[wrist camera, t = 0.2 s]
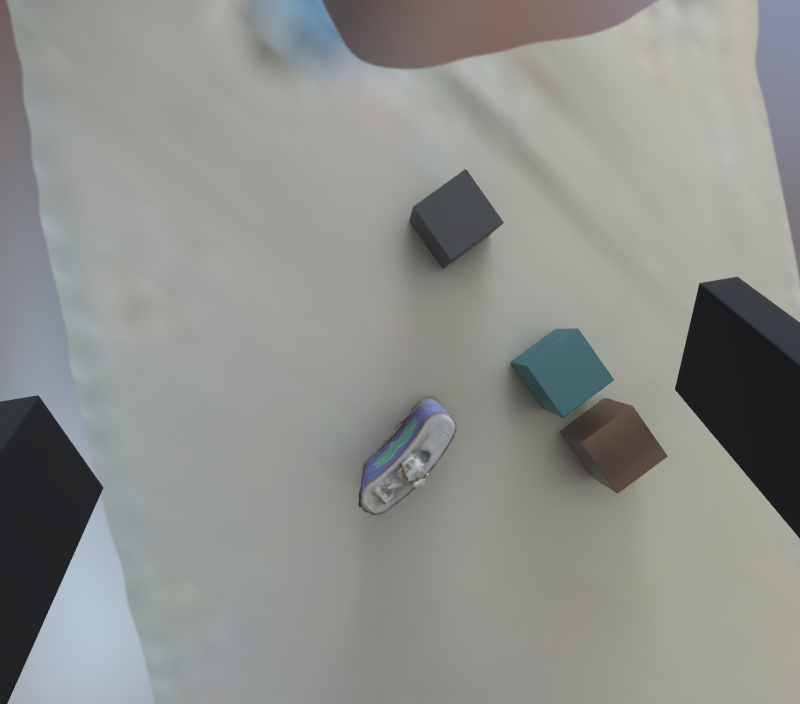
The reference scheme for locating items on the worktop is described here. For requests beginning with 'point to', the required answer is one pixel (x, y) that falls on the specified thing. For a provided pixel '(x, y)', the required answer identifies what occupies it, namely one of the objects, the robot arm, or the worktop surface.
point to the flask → (406, 456)
